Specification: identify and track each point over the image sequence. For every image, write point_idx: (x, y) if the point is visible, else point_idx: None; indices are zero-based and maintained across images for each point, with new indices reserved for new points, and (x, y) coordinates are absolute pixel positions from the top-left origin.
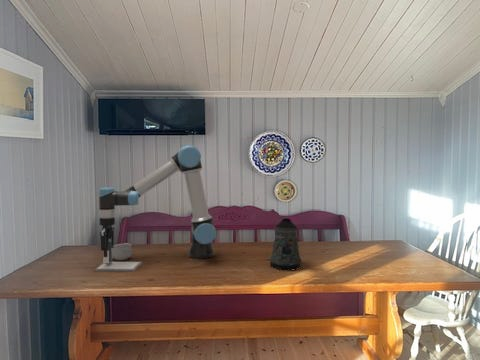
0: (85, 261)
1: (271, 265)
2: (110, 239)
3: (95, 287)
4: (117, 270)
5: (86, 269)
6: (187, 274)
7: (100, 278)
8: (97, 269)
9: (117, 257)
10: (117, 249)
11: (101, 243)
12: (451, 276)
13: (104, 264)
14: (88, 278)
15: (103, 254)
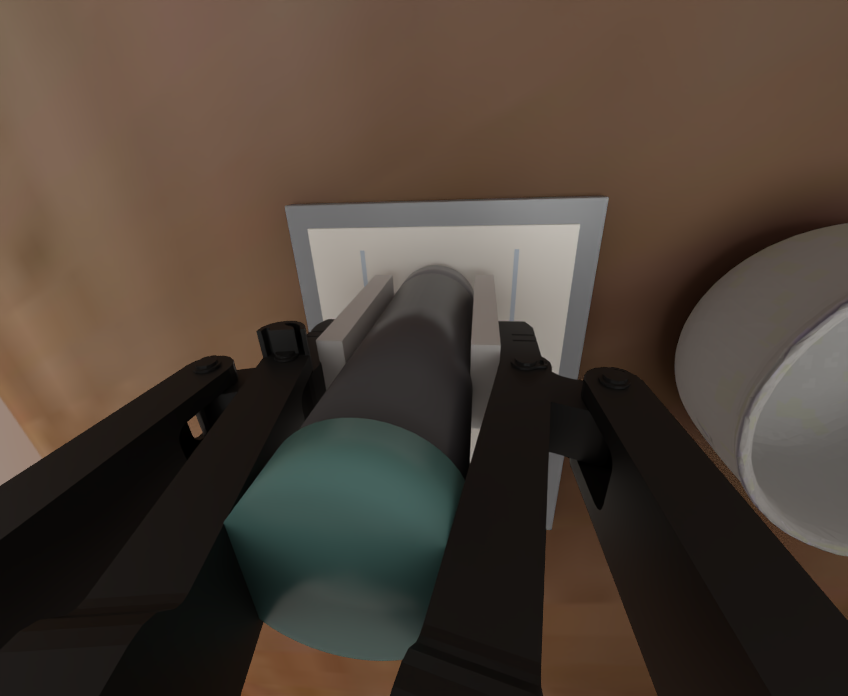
0: None
1: None
2: (334, 634)
3: (3, 376)
4: None
5: (322, 67)
6: (341, 680)
7: (141, 344)
8: (291, 239)
9: (684, 331)
10: (741, 394)
11: (64, 462)
12: None
13: (457, 246)
14: (100, 252)
15: (340, 317)
